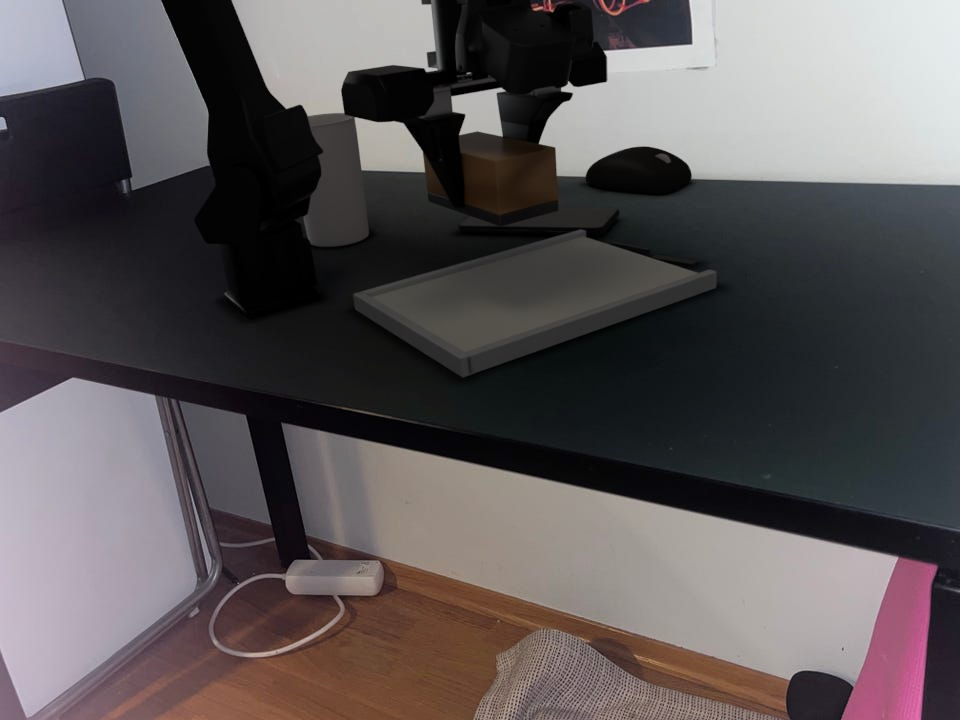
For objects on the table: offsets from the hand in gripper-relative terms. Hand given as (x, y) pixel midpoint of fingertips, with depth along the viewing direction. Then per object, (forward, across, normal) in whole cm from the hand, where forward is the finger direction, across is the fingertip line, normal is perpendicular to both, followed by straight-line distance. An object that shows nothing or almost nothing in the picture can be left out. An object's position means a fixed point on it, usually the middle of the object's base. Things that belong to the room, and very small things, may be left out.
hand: (489, 200), depth 64 cm
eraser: (0, 0, 0) cm, 1 cm away
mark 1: (+8, +15, +2) cm, 17 cm away
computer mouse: (+9, +32, +21) cm, 40 cm away
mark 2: (+8, +17, -2) cm, 19 cm away
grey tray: (+9, +3, 0) cm, 9 cm away
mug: (+9, -2, +30) cm, 31 cm away
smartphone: (+9, +15, +16) cm, 24 cm away
